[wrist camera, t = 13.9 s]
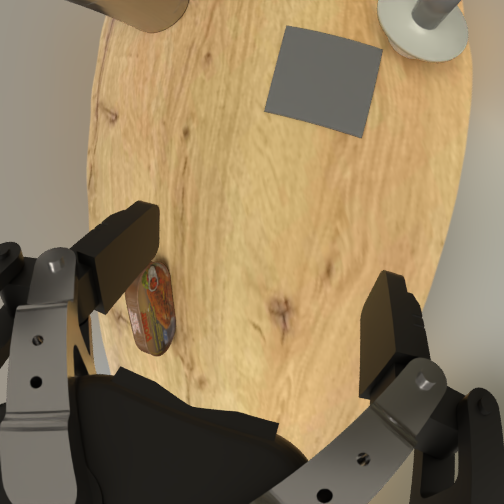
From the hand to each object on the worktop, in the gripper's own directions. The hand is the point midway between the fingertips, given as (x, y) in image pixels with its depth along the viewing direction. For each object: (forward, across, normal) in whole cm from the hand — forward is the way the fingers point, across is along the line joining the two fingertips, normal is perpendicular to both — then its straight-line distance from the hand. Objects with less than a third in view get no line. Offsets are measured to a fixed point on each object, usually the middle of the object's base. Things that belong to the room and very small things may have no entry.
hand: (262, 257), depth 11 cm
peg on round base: (+25, -8, -16) cm, 31 cm away
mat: (+30, 0, -6) cm, 31 cm away
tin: (+23, +16, +29) cm, 41 cm away
